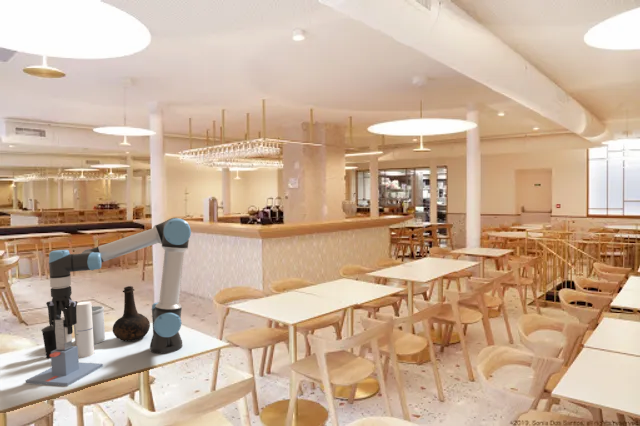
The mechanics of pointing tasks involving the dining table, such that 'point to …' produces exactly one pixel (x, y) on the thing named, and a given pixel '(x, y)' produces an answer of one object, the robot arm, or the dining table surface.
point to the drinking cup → (49, 340)
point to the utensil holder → (96, 324)
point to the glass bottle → (130, 320)
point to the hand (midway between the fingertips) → (64, 341)
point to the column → (61, 335)
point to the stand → (64, 369)
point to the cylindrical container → (84, 329)
